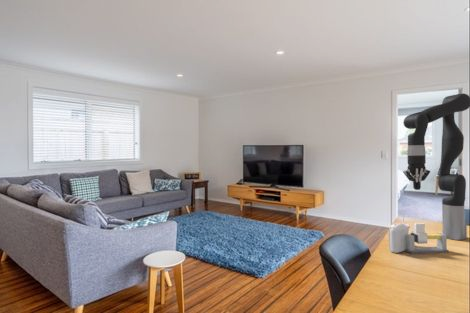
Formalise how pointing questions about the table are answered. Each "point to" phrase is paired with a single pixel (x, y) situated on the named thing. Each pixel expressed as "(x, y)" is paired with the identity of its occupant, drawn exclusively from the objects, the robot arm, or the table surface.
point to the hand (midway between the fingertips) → (416, 189)
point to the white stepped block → (420, 233)
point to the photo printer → (397, 237)
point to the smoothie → (406, 225)
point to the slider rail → (419, 250)
